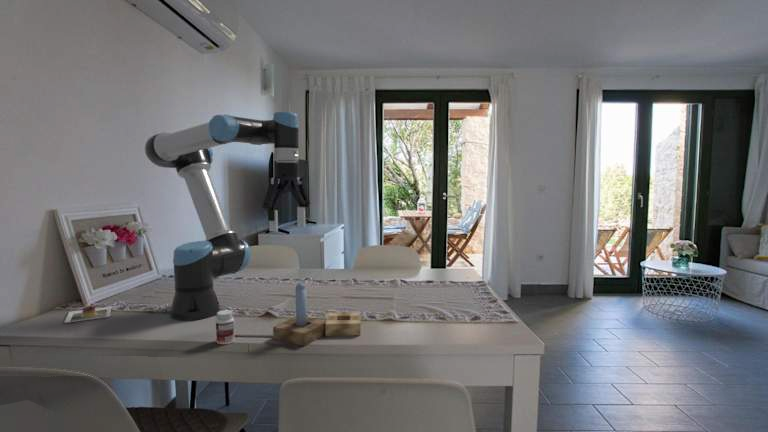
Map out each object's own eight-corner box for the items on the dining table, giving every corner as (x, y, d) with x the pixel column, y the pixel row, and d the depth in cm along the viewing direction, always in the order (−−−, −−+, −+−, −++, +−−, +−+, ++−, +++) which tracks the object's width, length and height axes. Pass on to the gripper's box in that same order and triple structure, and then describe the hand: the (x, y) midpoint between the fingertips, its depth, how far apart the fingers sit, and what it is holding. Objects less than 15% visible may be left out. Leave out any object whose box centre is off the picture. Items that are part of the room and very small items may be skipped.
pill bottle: (219, 338, 122) (218, 309, 121) (236, 338, 122) (235, 309, 121) (214, 345, 117) (213, 315, 116) (232, 344, 117) (231, 314, 116)
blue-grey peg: (294, 336, 123) (293, 283, 122) (301, 333, 126) (300, 281, 124) (302, 338, 122) (301, 284, 120) (309, 335, 124) (308, 282, 123)
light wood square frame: (325, 335, 124) (325, 323, 123) (328, 323, 134) (328, 312, 133) (360, 335, 124) (360, 323, 124) (360, 323, 134) (360, 312, 134)
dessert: (109, 319, 139) (109, 305, 139) (64, 325, 133) (63, 310, 133) (111, 309, 149) (110, 295, 149) (69, 314, 143) (68, 300, 143)
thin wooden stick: (220, 336, 123) (220, 334, 123) (222, 335, 124) (221, 333, 124) (277, 337, 123) (277, 335, 123) (278, 336, 123) (278, 334, 123)
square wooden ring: (273, 338, 121) (273, 326, 121) (298, 326, 131) (297, 315, 131) (304, 346, 116) (304, 333, 116) (328, 332, 126) (328, 321, 126)
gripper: (268, 160, 123) (270, 234, 125) (319, 163, 145) (320, 225, 147) (248, 161, 126) (251, 232, 128) (302, 163, 149) (303, 224, 151)
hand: (288, 229), depth 138 cm, fingers open, 13 cm apart
